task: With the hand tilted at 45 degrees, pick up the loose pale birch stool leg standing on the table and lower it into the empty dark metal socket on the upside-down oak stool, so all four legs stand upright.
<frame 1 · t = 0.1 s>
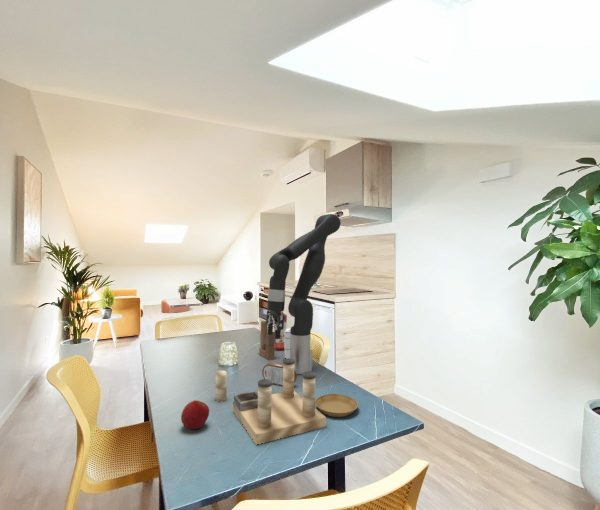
hand: (273, 336, 148), 17 cm above the table, tool pointing down, fingers open, 8 cm apart
apple: (195, 427, 104), on the table
liquor: (279, 349, 189), on the table
wooden block: (266, 357, 175), on the table
syrup box: (290, 357, 174), on the table
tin: (278, 384, 138), on the table
birch leg: (220, 399, 123), on the table
plant saucer: (336, 410, 117), on the table
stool: (277, 418, 110), on the table
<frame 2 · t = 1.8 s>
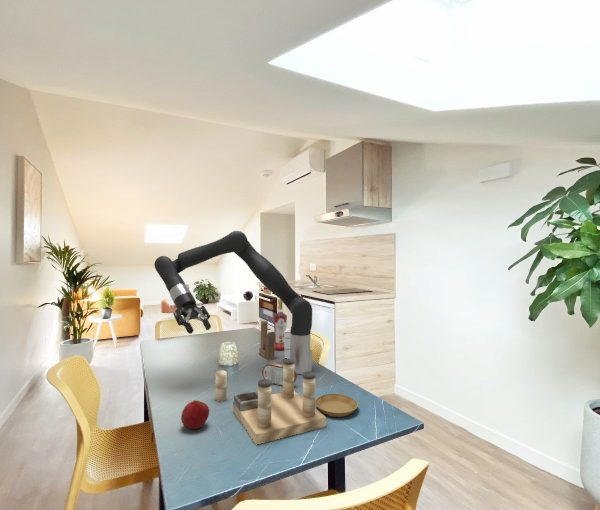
hand: (200, 330, 129), 24 cm above the table, tool tilted 45°, fingers open, 8 cm apart
nothing on the table moved.
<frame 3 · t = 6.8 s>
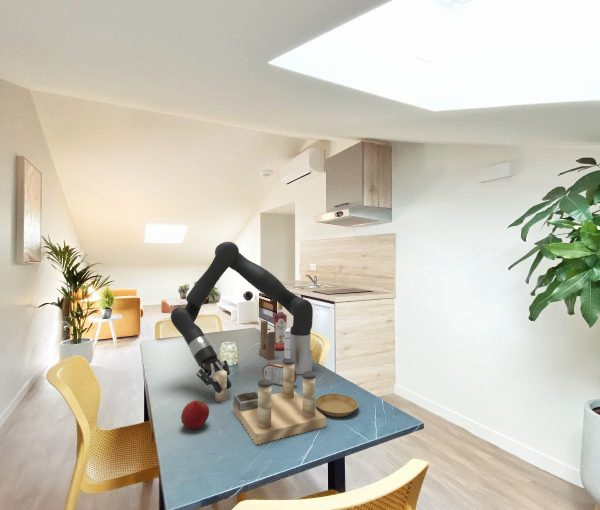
hand: (225, 389, 122), 4 cm above the table, tool tilted 45°, fingers closed on birch leg, 4 cm apart
birch leg: (220, 399, 123), on the table, touching gripper
everything else where it was.
when the fingers open (8 cm above the table, at t = 13.0 s): birch leg drops 1 cm, resting on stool.
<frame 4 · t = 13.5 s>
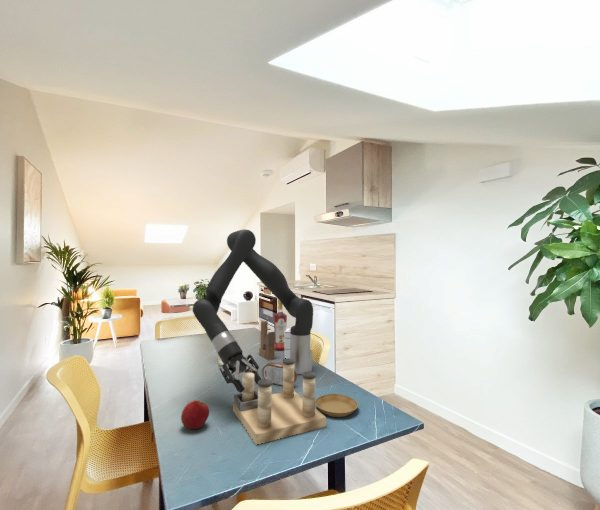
hand: (251, 387, 112), 9 cm above the table, tool tilted 45°, fingers open, 8 cm apart
birch leg: (247, 404, 113), point 3 cm above the table, touching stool
everything else where it was.
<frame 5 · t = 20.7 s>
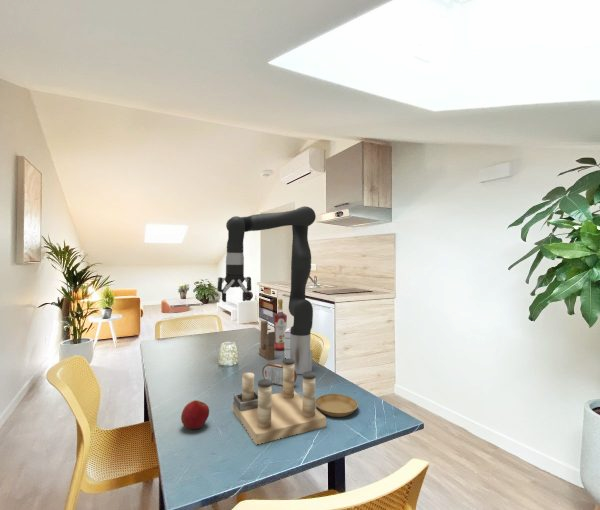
hand: (234, 301, 144), 33 cm above the table, tool pointing down, fingers open, 8 cm apart
nothing on the table moved.
at the end: birch leg 0.1 cm from the target spot on the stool, point 3.0 cm above the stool's base; birch leg tilted 0°; the gripper is holding nothing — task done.
